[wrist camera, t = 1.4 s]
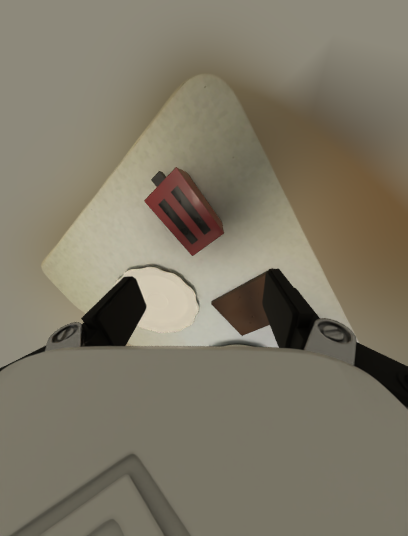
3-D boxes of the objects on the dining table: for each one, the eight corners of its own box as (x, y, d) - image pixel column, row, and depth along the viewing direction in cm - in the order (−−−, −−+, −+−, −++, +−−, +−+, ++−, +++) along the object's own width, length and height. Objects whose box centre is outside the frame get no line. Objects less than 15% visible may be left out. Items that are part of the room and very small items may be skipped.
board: (272, 268, 31) (274, 270, 30) (298, 309, 35) (301, 312, 34) (211, 301, 36) (211, 304, 35) (241, 332, 41) (241, 335, 40)
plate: (205, 325, 41) (205, 330, 39) (137, 330, 44) (134, 335, 42) (187, 258, 31) (186, 261, 29) (101, 270, 34) (96, 274, 32)
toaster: (180, 163, 23) (167, 155, 17) (222, 222, 27) (224, 233, 21) (155, 190, 25) (135, 191, 19) (197, 241, 29) (192, 256, 23)
